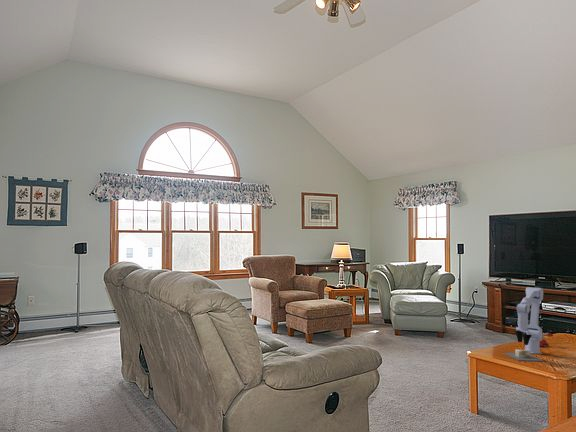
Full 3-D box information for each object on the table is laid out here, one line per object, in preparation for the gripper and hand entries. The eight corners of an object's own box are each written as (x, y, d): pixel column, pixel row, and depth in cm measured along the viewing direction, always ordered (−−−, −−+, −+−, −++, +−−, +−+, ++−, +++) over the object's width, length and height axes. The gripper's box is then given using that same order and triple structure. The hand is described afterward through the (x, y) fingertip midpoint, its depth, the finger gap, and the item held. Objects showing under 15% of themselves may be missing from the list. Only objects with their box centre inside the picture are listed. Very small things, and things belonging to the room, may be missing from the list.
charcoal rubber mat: (504, 353, 303) (504, 352, 303) (527, 354, 303) (527, 353, 303) (517, 360, 285) (517, 359, 285) (543, 361, 285) (543, 360, 285)
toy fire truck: (533, 345, 329) (533, 332, 330) (549, 345, 332) (549, 332, 332) (536, 347, 326) (536, 333, 327) (553, 346, 329) (553, 333, 329)
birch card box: (527, 355, 296) (527, 349, 297) (531, 357, 292) (530, 351, 292) (515, 355, 296) (515, 349, 297) (518, 357, 292) (518, 351, 292)
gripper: (511, 320, 302) (511, 340, 302) (522, 324, 288) (522, 346, 287) (521, 320, 302) (521, 341, 302) (533, 324, 288) (533, 346, 287)
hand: (523, 343), depth 295 cm, fingers open, 7 cm apart
